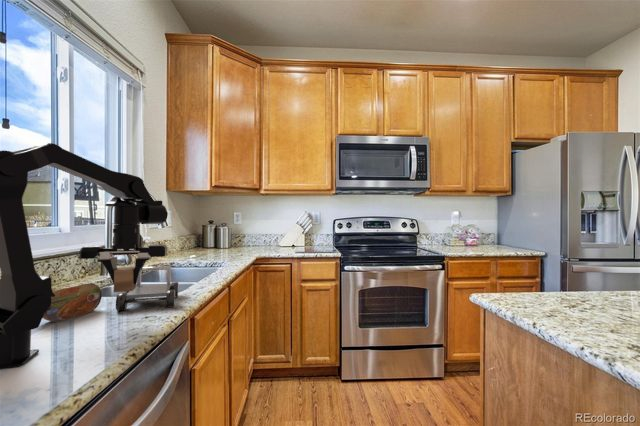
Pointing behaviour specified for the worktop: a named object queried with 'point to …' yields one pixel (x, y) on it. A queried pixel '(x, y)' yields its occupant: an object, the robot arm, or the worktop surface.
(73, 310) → the tin
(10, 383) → the worktop surface
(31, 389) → the worktop surface
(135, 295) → the trolley
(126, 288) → the block
